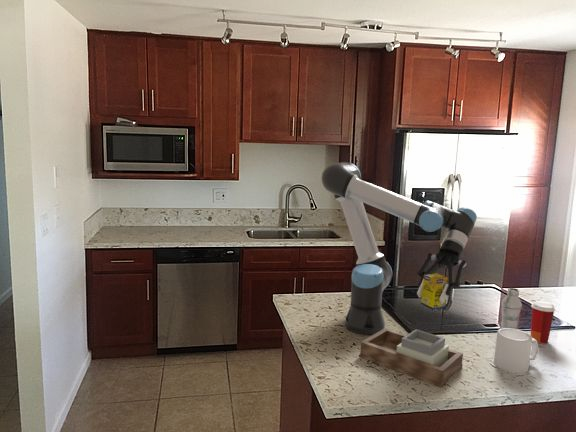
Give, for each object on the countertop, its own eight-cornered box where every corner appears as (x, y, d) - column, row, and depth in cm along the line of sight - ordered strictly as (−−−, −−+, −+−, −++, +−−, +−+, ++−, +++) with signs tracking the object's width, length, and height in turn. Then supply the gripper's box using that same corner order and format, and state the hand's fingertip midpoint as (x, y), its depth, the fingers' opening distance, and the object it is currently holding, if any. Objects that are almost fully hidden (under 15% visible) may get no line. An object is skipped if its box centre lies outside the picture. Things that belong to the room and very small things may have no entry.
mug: (522, 355, 159) (525, 326, 157) (544, 370, 149) (548, 339, 147) (487, 359, 155) (490, 329, 154) (507, 374, 146) (511, 342, 144)
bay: (359, 356, 155) (360, 342, 154) (384, 340, 167) (385, 327, 167) (440, 387, 137) (441, 371, 136) (462, 367, 149) (463, 352, 149)
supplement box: (433, 310, 158) (436, 279, 156) (420, 304, 163) (423, 274, 161) (445, 308, 161) (449, 277, 159) (433, 302, 166) (436, 272, 164)
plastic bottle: (520, 347, 165) (526, 293, 162) (499, 345, 166) (505, 291, 163) (515, 339, 171) (521, 287, 168) (495, 337, 173) (501, 285, 169)
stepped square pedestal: (395, 362, 149) (397, 338, 147) (412, 350, 158) (414, 327, 156) (431, 375, 141) (433, 350, 140) (447, 362, 150) (449, 338, 149)
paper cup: (550, 338, 173) (554, 302, 171) (551, 346, 166) (556, 309, 164) (526, 334, 176) (530, 299, 174) (527, 342, 169) (531, 305, 167)
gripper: (483, 257, 164) (461, 312, 155) (429, 246, 177) (405, 296, 168) (480, 244, 159) (456, 301, 150) (424, 234, 172) (399, 285, 163)
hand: (429, 298), depth 159 cm, fingers closed on supplement box, 7 cm apart
